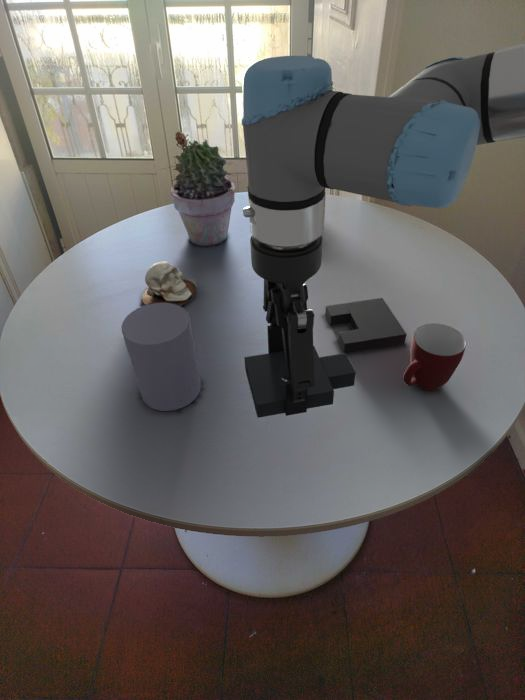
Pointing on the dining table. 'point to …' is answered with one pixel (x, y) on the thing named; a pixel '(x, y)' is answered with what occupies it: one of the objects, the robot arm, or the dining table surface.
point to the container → (162, 355)
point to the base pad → (366, 325)
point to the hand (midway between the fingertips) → (286, 385)
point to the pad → (272, 367)
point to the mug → (434, 356)
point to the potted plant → (202, 192)
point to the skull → (167, 285)
